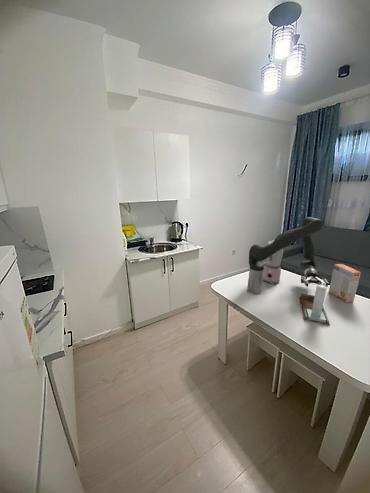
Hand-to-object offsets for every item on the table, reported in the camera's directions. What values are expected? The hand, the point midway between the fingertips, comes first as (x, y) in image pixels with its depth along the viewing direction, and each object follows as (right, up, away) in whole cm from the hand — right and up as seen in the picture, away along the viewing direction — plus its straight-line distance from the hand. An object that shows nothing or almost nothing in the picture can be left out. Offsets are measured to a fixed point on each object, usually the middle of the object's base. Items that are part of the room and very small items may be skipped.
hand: (315, 286), depth 121 cm
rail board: (-2, -14, 0) cm, 14 cm away
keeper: (-5, -15, -7) cm, 17 cm away
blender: (-12, -3, +36) cm, 38 cm away
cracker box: (+25, -10, +14) cm, 30 cm away
